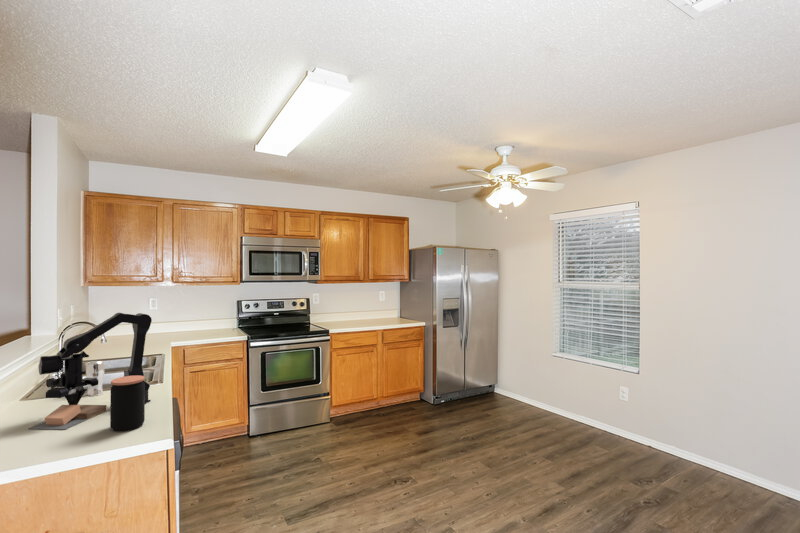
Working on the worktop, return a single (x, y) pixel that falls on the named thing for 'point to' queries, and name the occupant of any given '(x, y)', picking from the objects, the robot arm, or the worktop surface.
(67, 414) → the terracotta tile
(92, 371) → the beer glass
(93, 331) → the robot arm
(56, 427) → the charcoal mat
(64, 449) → the worktop surface
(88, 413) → the walnut ledge
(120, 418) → the coffee jar
